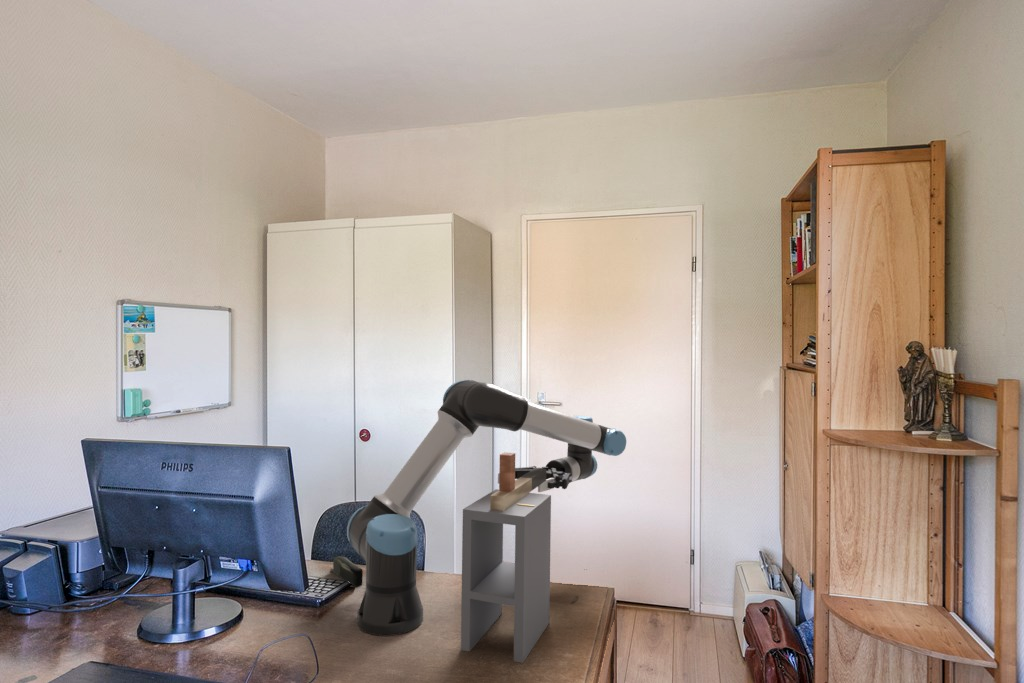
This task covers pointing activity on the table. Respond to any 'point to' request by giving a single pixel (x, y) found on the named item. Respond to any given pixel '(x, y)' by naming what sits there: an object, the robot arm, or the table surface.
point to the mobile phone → (347, 570)
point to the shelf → (506, 570)
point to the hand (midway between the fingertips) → (518, 482)
